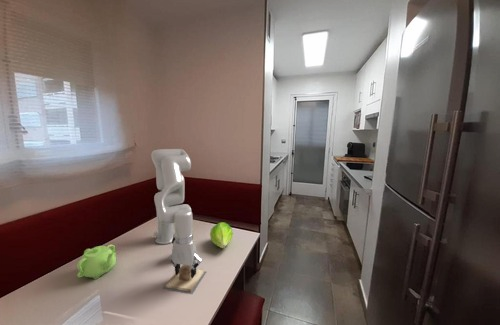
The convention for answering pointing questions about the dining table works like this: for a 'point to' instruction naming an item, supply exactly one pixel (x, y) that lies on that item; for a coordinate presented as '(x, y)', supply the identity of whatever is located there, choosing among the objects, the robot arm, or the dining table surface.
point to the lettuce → (221, 234)
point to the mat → (186, 291)
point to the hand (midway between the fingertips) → (185, 274)
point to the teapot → (97, 261)
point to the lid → (185, 279)
